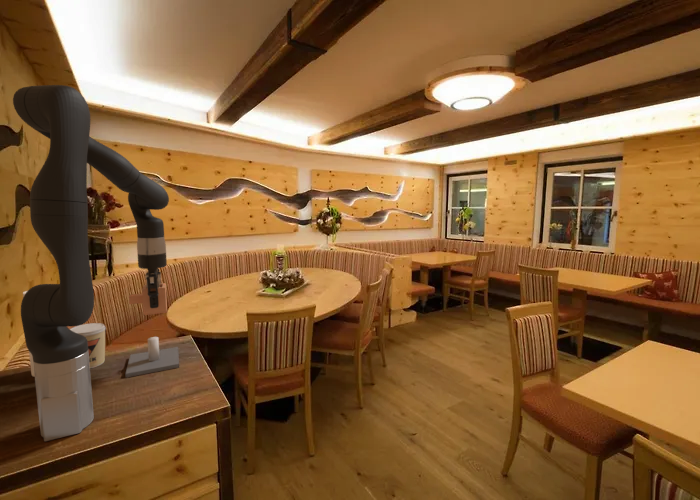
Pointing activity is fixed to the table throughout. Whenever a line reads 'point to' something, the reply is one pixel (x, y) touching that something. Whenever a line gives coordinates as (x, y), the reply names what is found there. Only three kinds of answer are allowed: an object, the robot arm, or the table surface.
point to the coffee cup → (93, 341)
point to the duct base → (154, 366)
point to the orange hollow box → (146, 300)
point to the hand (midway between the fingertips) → (155, 304)
